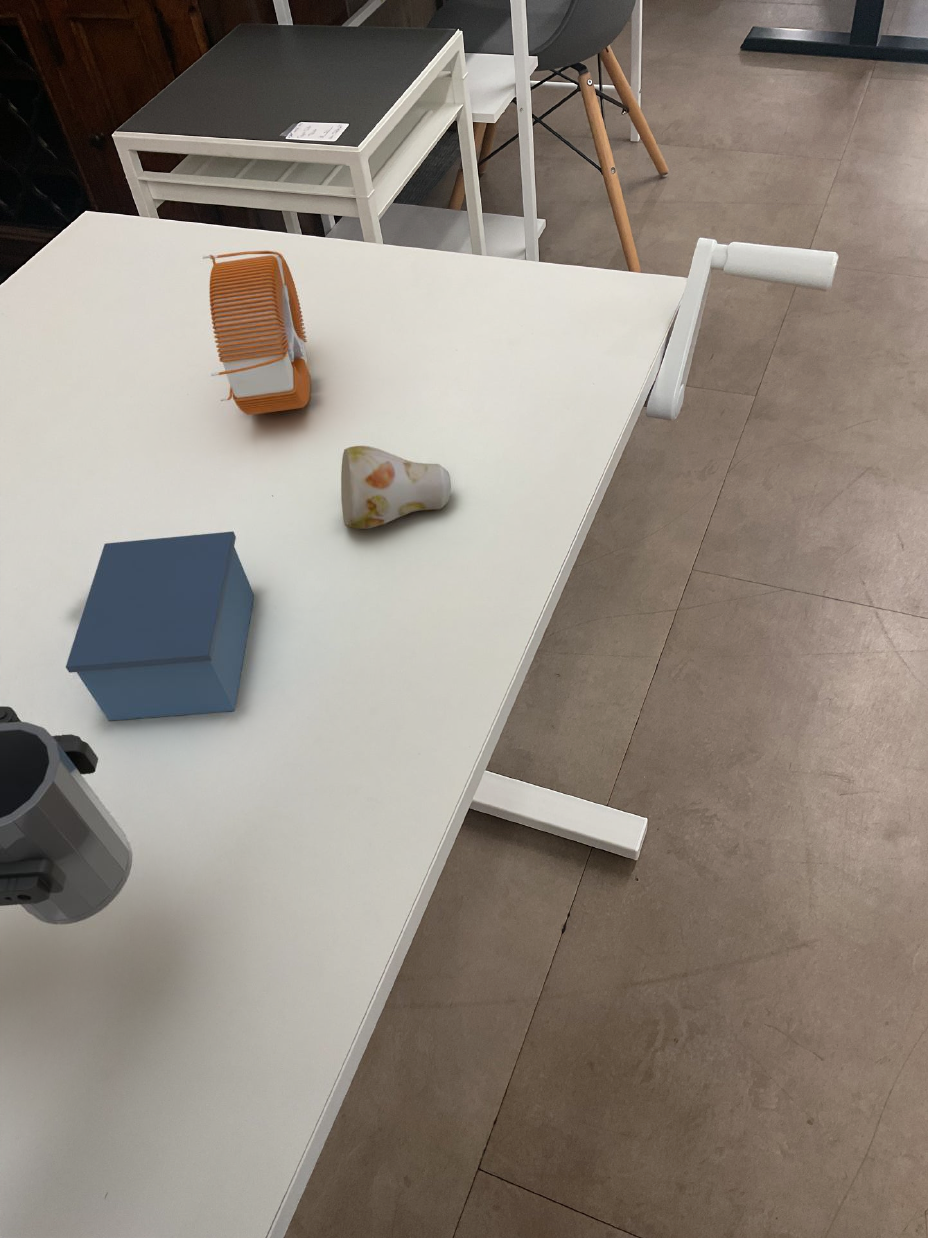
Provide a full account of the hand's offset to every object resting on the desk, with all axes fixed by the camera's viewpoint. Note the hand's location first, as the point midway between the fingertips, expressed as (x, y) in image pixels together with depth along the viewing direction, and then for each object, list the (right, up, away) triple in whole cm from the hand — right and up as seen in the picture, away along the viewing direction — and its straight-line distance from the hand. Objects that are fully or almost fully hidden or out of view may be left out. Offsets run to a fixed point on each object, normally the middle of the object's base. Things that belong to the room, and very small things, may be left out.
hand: (75, 813), depth 51 cm
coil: (+1, +32, +52) cm, 61 cm away
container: (-3, +7, +30) cm, 31 cm away
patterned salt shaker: (+14, +20, +39) cm, 46 cm away
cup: (-2, -4, +5) cm, 6 cm away
